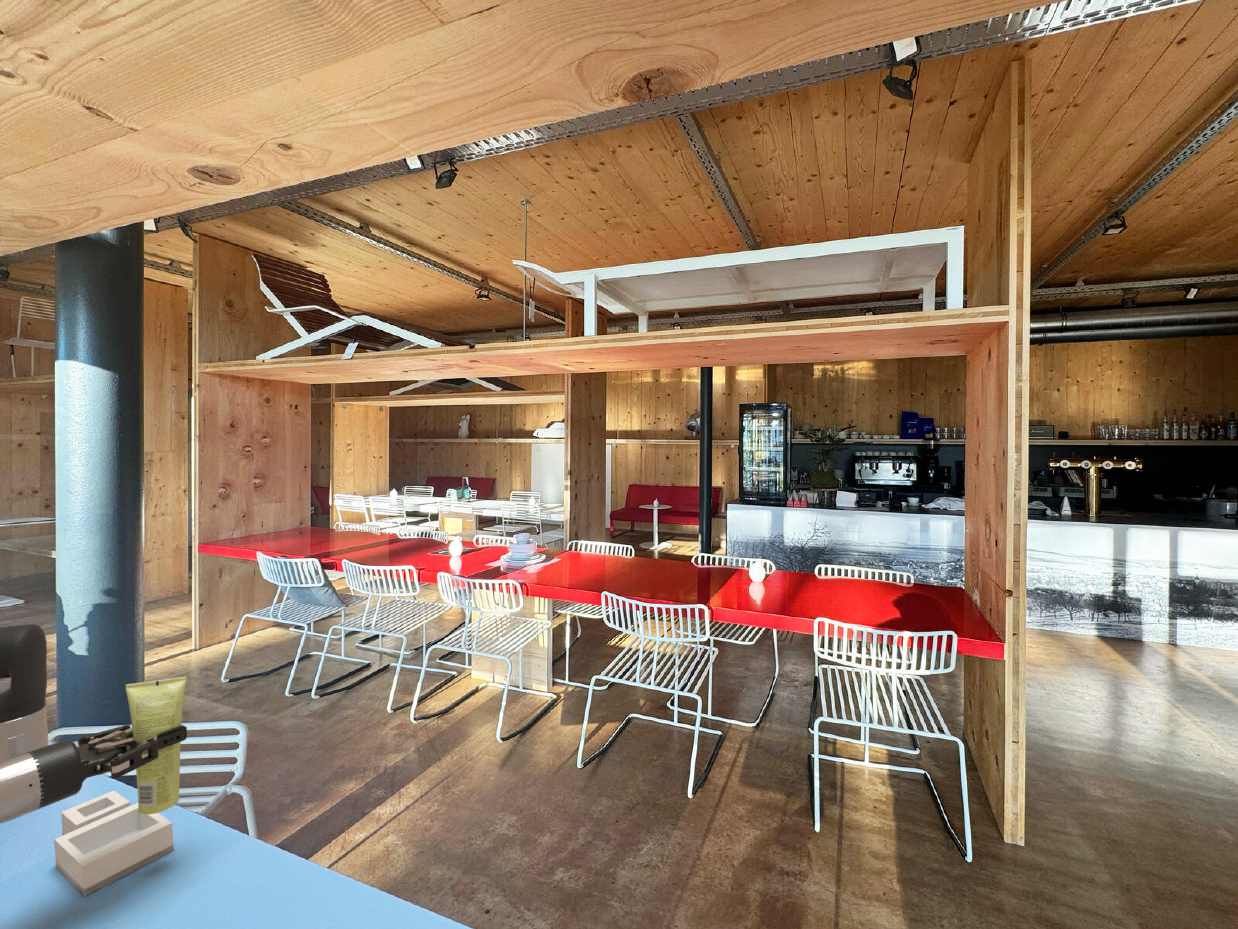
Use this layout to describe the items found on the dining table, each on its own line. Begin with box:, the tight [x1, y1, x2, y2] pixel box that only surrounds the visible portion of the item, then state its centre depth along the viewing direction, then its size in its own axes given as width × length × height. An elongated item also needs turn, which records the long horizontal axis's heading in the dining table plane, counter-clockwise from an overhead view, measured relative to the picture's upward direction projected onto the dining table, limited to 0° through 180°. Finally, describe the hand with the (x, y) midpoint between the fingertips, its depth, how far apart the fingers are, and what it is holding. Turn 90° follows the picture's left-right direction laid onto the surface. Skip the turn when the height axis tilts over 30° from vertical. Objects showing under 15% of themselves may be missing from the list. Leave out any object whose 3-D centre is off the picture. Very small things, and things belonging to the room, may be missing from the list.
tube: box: [125, 676, 187, 814], centre depth 90 cm, size 6×5×20 cm
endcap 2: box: [53, 802, 175, 897], centre depth 92 cm, size 12×11×4 cm
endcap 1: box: [60, 790, 131, 836], centre depth 99 cm, size 7×7×4 cm
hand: (177, 728), depth 92 cm, fingers closed on tube, 4 cm apart
